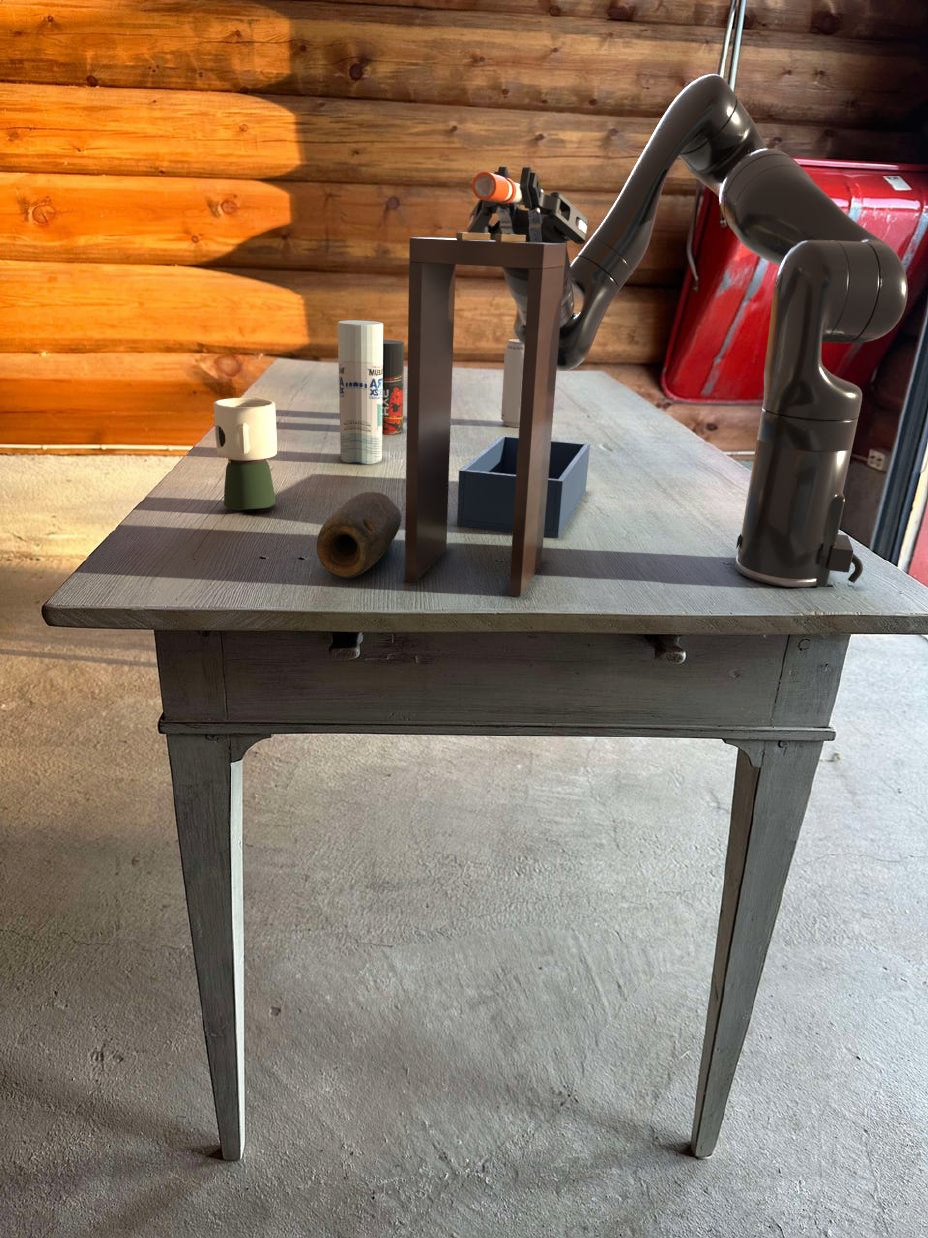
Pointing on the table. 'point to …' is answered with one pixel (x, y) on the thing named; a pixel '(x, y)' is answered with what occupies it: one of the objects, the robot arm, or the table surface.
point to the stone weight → (358, 534)
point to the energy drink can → (512, 383)
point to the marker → (496, 189)
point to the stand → (434, 391)
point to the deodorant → (392, 387)
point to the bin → (494, 481)
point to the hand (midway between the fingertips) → (513, 175)
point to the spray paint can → (360, 390)
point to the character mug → (246, 450)
